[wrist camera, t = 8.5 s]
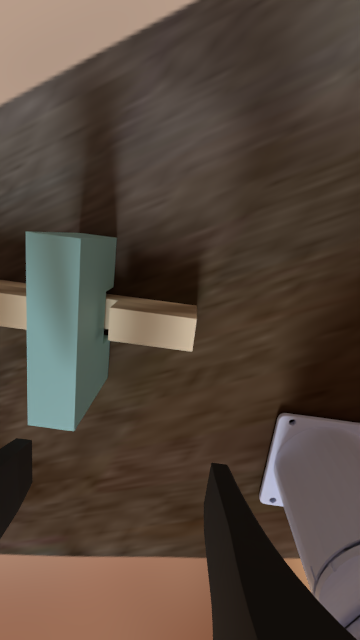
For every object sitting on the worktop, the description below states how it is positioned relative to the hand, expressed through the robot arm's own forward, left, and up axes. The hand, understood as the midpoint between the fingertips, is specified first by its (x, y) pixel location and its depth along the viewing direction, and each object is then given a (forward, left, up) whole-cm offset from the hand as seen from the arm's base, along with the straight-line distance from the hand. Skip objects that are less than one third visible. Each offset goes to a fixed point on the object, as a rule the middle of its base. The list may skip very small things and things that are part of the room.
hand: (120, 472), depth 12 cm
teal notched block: (+5, -4, -10) cm, 12 cm away
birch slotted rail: (+5, -4, -10) cm, 12 cm away
